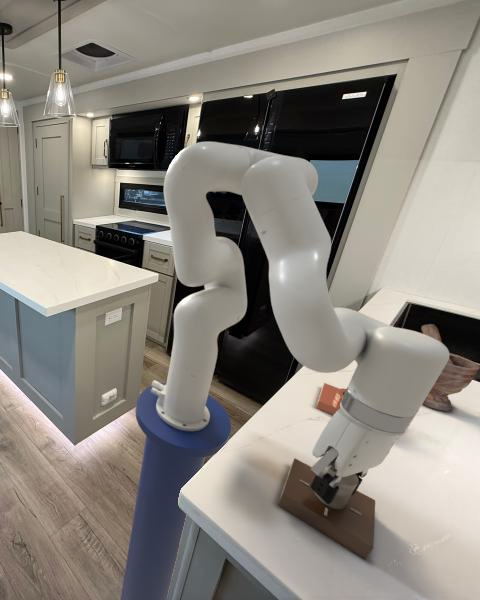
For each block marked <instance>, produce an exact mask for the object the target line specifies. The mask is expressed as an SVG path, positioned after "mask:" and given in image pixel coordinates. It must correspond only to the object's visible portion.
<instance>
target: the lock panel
mask: <svg viewBox="0 0 480 600" xmlns="http://www.w3.org/2000/svg"><path fill="white" fill-rule="evenodd" d="M312 467H313V466H311V465H309V464H307V463H305V462H303V461H301V460H300V459H297V458H295V457H294V458H293V461H292V462H291V465H290V468H289V470H288V472H287V477H286V478H285V482H284V485H283V488H282V491H281V494H280V496H279V500H278V503H277V505H278V506H279V507H281V508H282V509H284V510H285V511H287V512H289V513H290V514H292V515H293V516H296V517H297V518H298V519H300V520H302V521H303V522H305V523H306V524H308V525H310V526H311V527H313V528H315V529H316V530H318V531H320V532H321V533H322V534H324V535H326V536H328V538H331V539H332V540H334V541H335V542H337V543H339V544H340V545H342V546H344V547H345V548H347V549H348V550H350V551H352V552H353V553H355V554H357V555H358V556H360V557H362V558H363V559H364V560H366V559H367V558H368V556H369V555H370V554H371V552H372V551H373V549H374V544H375V543H374V542H375V519H376V499H374V498H372V497H370V496H368V495H366V494H364V493H363V492H360V491H358V490H357V491H356V492H355V494H354V495H352V496H350V498H349V500H348V502H347V503H346V505H345V507H344V508H343V509H334V508H331V507H329V506H327V505H325V504H324V503H323V502H321V501H320V500H319V499H318V498H317V496H316V495H315V493H314V491H313V490H312V489H311V484H312V482H313V480H314V478H315V476H316V474H315V473H314V472H313V471H312V470H311V468H312Z"/></svg>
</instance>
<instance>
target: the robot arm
mask: <svg viewBox="0 0 480 600" xmlns="http://www.w3.org/2000/svg"><path fill="white" fill-rule="evenodd" d="M318 174H319V173H318V172H317V169H316V168H315V166H314V165H313V163H311V162H310V161H308V160H306V158H305V159H304V158H301V157H297V156H296V157H295V156H289V155H284V154H279V153H274V152H271V151H266V150H262V149H257V148H253V147H248V146H245V145H239V144H231V143H226V142H225V143H224V142H218V141H200V142H199V141H198V142H196V143H195V142H194V143H192V144H190V145H188V146H186V147H185V148H183V149H182V150H180V151H179V152H178V154H177V155H175V157H174V158H173V159H172V160H171V163H170V164H169V166H168V169H167V171H166V174H165V176H164V181H163V199H164V203H165V208H166V212H167V217H168V222H169V228H170V229H169V230H170V238H171V240H170V241H171V247H172V254H173V255H172V256H173V261H174V269H175V274H176V277H177V280H179V282H180V283H181V284H182V285H184V286H186V287H192V288H195V287H197V288H198V287H202V286H203V287H204V289H202V290H200V291H197V292H194V293H191V294H189V295H187V296H185V297H184V298H182V299H181V301H179V303H177V305H176V307H175V309H174V313H173V342H172V349H171V354H170V355H171V356H170V362H169V367H168V372H167V378H166V382H165V383H166V385H163V384H161V383H162V382H159V381H157V380H155V379H154V380H153V381H152V382H151V385H150V386H152V387H153V388H152V389H151V393H153V394H155V395H157V396H159V398H158V400H157V403H156V410H157V413H158V415H159V416H160V417H161V419H162V420H163V421H165V422H166V423H167V424H169V425H170V426H172V427H174V428H176V429H179V430H183V431H199V430H201V429H203V428H205V427H206V426H207V425H208V423H209V419H210V413H209V410H208V409H207V407H206V406H205V405H206V401H207V397H208V395H209V393H210V388H211V385H212V380H213V376H214V373H215V369H216V364H217V359H218V354H219V353H218V352H219V347H218V336H219V334H220V333H221V332H223V331H224V330H225V331H226V329H228V328H231V327H232V326H234V325H236V324H238V323H239V322H240V321H241V320H242V319H243V318H244V317H245V315H246V312H247V308H248V295H247V294H248V293H247V283H246V274H245V272H246V271H245V263H244V257H243V254H242V251H241V249H240V248H239V245H237V243H235V242H234V241H233V240H232V239H230V238H228V237H224V236H217V234H216V228H215V217H214V212H213V210H212V208H211V206H210V205H211V204H209V201H208V199H207V194H208V193H210V192H212V193H213V192H214V193H215V192H216V193H217V192H228V193H229V192H230V193H233V194H236V195H240V196H242V199H243V203H244V205H245V207H246V210H247V212H248V214H249V216H250V219H251V222H252V224H253V226H254V229H255V231H256V233H257V235H258V238H259V241H260V243H261V245H262V248H263V250H264V252H265V255H266V258H267V261H268V283H269V297H270V303H271V307H272V312H273V315H274V318H275V321H276V324H277V326H278V328H279V331H280V333H281V336H282V338H283V341H284V342H285V345H286V347H287V348H288V350H289V352H290V353H291V355H292V356H293V358H294V359H295V360H296V361H297V362H298V363H299V364H301V365H302V366H303V367H305V368H306V369H309V370H311V371H314V372H317V373H322V374H331V373H336V372H339V371H342V370H344V369H346V368H347V367H349V365H351V364H352V363H353V362H354V361H355V362H356V364H357V365H356V368H355V370H354V372H353V374H352V376H351V379H350V380H349V382H348V385H347V387H346V388H345V389H346V391H345V393H344V396H343V398H342V400H341V402H340V409H339V410H337V412H336V413H335V414H334V415H332V416H331V418H330V419H329V421H328V422H327V423H326V425H325V427H324V428H323V430H322V432H321V433H320V435H319V437H318V439H317V441H316V443H315V445H314V446H313V448H312V452H311V454H312V456H313V457H315V458H316V459H318V458H320V459H318V460H317V461H316V462H315V463H314V464H313V465H312V466H311V467H312V468H311V470H312V471H313V472H314V473H315V474H316V476H315V478H314V480H313V482H312V484H311V489H312V490H313V491H314V492H315V493H316V494H317V495H318V496H319V497H321V498H322V499H323V500H324V501H325V502H326V503H327V504H330V503H332V501H333V499H334V497H335V495H336V493H337V491H338V490H339V487H338V486H337V485H338V484H339V482H340V481H341V479H342V478H343V477H346V476H350V475H353V474H356V475H357V477H358V480H359V482H358V484H357V486H356V488H355V489H354V491H353V493H352V495H354V494H355V492H356V491H358V489H359V487H360V485H361V484H362V482H363V479H364V478H365V477H366V476H367V475H368V472H369V470H371V469H373V468H376V467H377V466H379V465H381V464H382V463H383V462H384V460H385V459H386V458H387V456H388V455H389V453H390V451H391V449H392V448H393V446H394V444H395V442H396V440H397V438H398V437H399V436H404V435H405V433H406V432H407V430H408V429H409V427H410V426H411V423H412V422H413V420H414V419H415V417H416V415H417V414H418V412H419V411H420V409H421V407H422V406H423V405H424V404H423V402H424V400H425V399H426V397H427V395H428V394H429V392H430V390H431V389H432V387H433V385H434V384H435V382H436V380H437V379H438V377H439V375H440V374H441V372H442V370H443V369H444V367H445V365H446V364H447V362H448V360H449V353H450V351H449V349H448V347H447V346H446V345H445V344H444V343H443V342H442V341H441V342H442V343H441V342H440V341H438V340H436V339H434V338H432V337H430V336H427V335H425V334H423V332H418V331H416V330H412V329H407V328H401V327H395V326H393V325H391V324H387V323H386V322H383V321H381V320H378V319H375V318H373V317H372V316H369V315H367V314H364V313H362V312H359V311H358V310H354V309H351V308H348V307H347V308H346V307H334V305H333V303H332V300H331V296H330V292H329V289H328V281H327V270H328V269H327V268H328V263H329V258H330V255H331V251H332V238H331V236H330V233H329V231H328V229H327V227H326V225H325V223H324V220H323V218H322V216H321V213H320V212H319V210H318V207H317V205H316V203H315V200H314V198H313V196H314V194H315V193H316V191H317V188H318V184H319V175H318ZM158 390H160V391H161V392H160V391H158ZM334 463H335V464H334ZM329 468H330V469H332V470H333V471H334V472H335V473H336V474H335V476H334V477H332V476H331V475H330V474H329V473H327V470H328V469H329ZM352 495H351V496H352Z"/></svg>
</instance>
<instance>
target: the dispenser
mask: <svg viewBox="0 0 480 600" xmlns="http://www.w3.org/2000/svg"><path fill="white" fill-rule="evenodd" d="M346 389H347V388H345V387H344V388H339V387H337V386H333V385H331V384H328V383H326V382H324V383H323V385H322V387H321V390H320V393H319V396H318V400H317V402H316V406H315V408H316V409H317V410H320V411H323V412H325V413H327V414H330V415H332V416H333V415H334V414H335V413H336V412H337V410H339V409H340V402H341V400H342V398H343V396H344V393H345V391H346Z"/></svg>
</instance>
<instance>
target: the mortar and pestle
mask: <svg viewBox="0 0 480 600" xmlns="http://www.w3.org/2000/svg"><path fill="white" fill-rule="evenodd" d="M420 330H421V331H422V332H421V333H422V334H425V335H427V336H430V337H432V338H434V339H436V340H438V341H440V342H441V343H442V344H443V342H442V338H441V334H440V330H439V328H438V327H437V326H436V325H435V324H432V323H429V324H423V325H421V328H420ZM479 370H480V366H479V364H477V363H475V362H474V361H472V360H470V359H468V358H465V357H463V356H460V355H457V354H454V353H451V352H449V360H448V362H447V364H446V365H445V367H444V369H443V370H442V372H441V374H440V375H439V377H438V379H437V380H436V382H435V384H434V385H433V387H432V389H431V390H430V392H429V394H428V395H427V397H426V399H425V400H424V402H423V404H422V405H424V406H426V407H428V408H431V409H435V410H439V411H445V412H449V411H450V410H451V409H452V401H451V400H450V398H449V396H450V395H453V394H454V395H455V394H458V393H460V392H462V391H463V389H465V388H467V387H468V386H469V385H470V384H471V383H472V381H473V380H474V378H475V376H476V374H477V373H478V371H479Z"/></svg>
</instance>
